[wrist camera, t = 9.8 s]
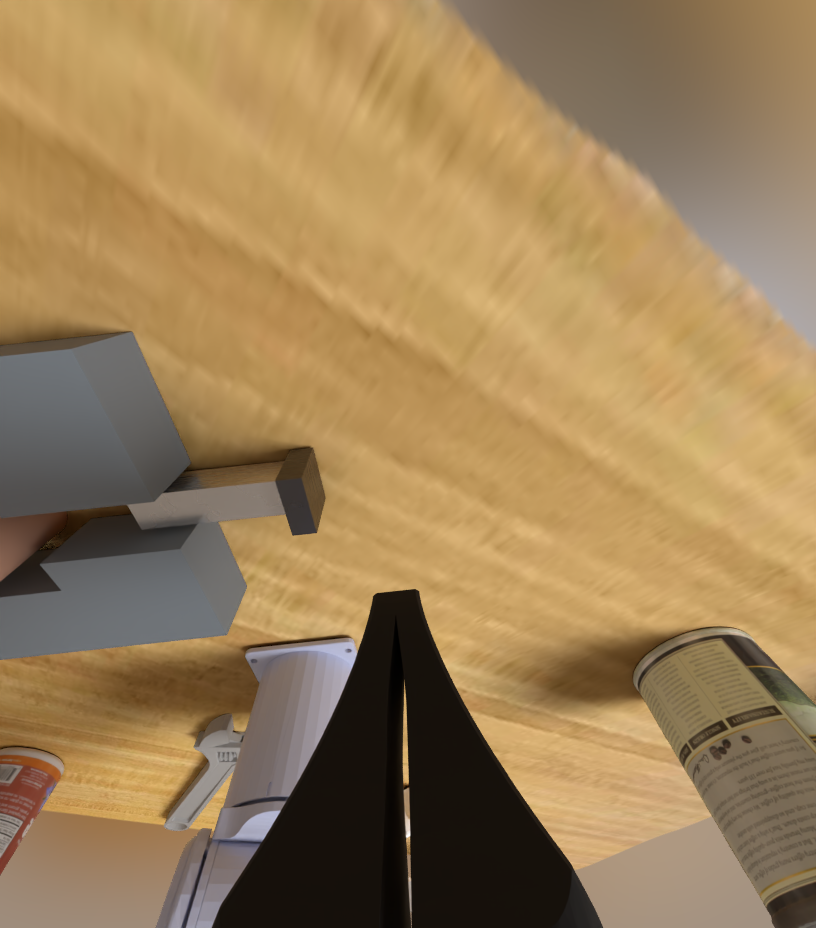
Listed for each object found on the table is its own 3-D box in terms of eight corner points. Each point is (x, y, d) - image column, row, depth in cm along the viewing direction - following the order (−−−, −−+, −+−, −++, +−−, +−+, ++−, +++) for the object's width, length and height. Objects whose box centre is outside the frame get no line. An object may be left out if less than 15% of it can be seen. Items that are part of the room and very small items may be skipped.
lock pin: (325, 497, 20) (316, 533, 18) (167, 514, 20) (135, 552, 18) (312, 447, 19) (301, 478, 16) (141, 465, 19) (102, 499, 16)
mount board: (247, 586, 24) (226, 635, 21) (3, 613, 23) (-54, 665, 20) (132, 331, 16) (71, 348, 13) (-237, 370, 16) (-389, 397, 12)
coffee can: (775, 619, 29) (1064, 886, 16) (727, 690, 34) (920, 934, 22) (648, 631, 29) (845, 910, 16) (619, 701, 34) (752, 953, 21)
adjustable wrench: (192, 814, 42) (185, 835, 40) (134, 804, 40) (124, 826, 38) (293, 719, 33) (288, 741, 31) (224, 699, 30) (216, 722, 29)
